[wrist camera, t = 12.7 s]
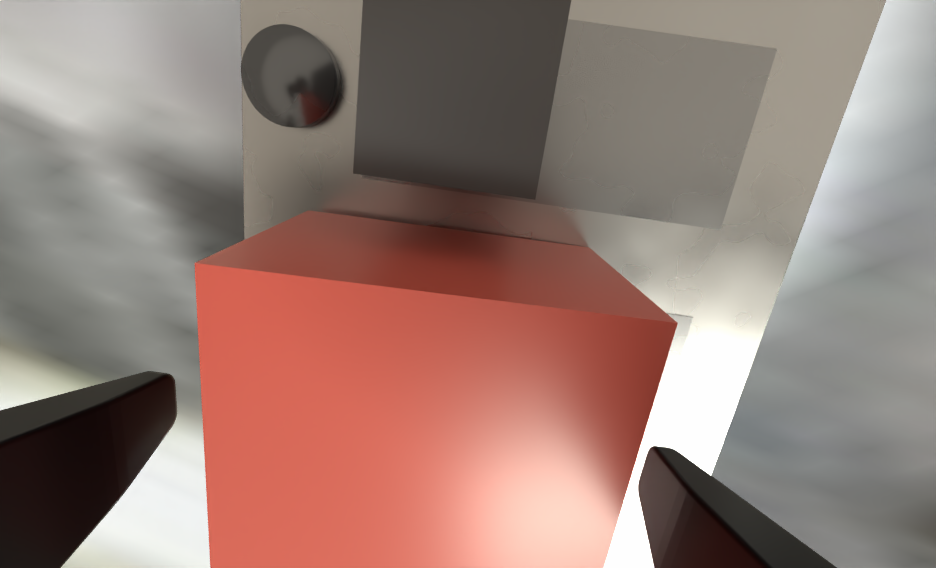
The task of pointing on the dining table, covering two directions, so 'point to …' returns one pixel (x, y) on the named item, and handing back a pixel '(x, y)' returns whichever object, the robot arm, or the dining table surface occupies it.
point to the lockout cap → (419, 397)
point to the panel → (604, 168)
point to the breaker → (458, 91)
